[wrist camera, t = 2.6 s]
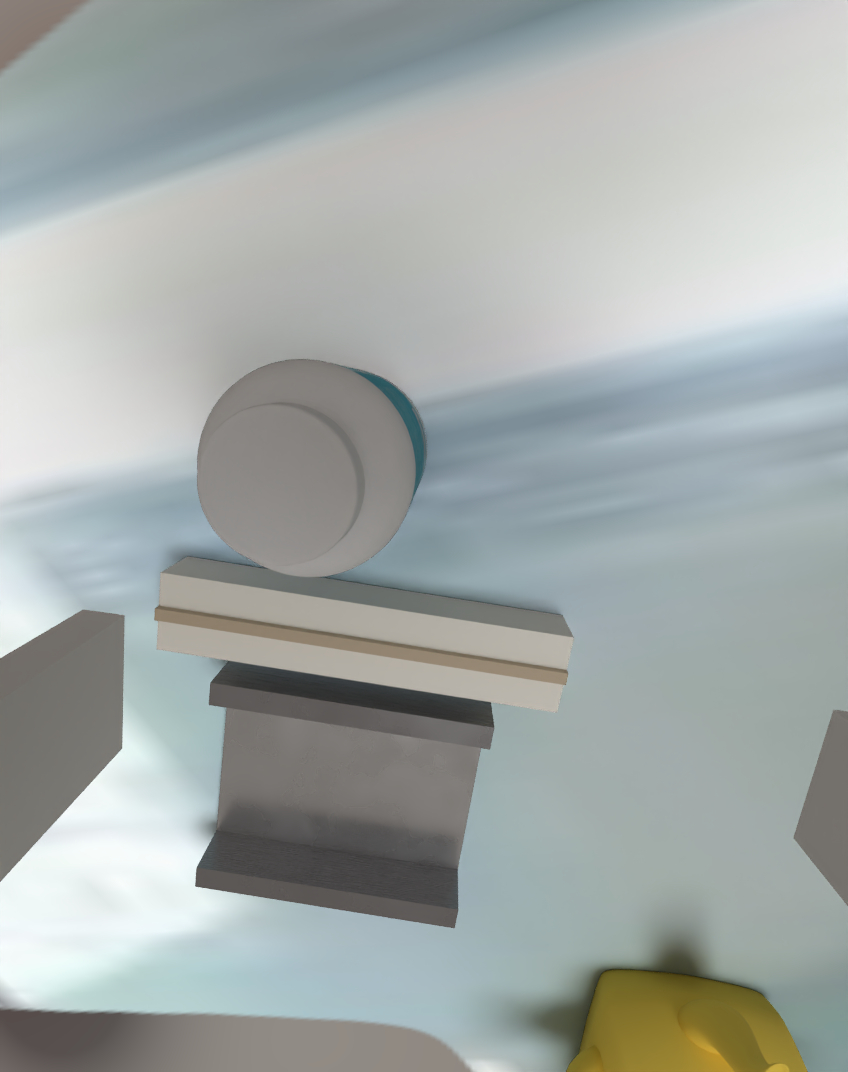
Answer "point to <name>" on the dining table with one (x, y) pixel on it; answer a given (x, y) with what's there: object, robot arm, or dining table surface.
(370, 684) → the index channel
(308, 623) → the door edge
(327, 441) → the pill bottle
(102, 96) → the dining table surface
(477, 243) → the dining table surface
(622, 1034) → the teapot
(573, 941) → the dining table surface
